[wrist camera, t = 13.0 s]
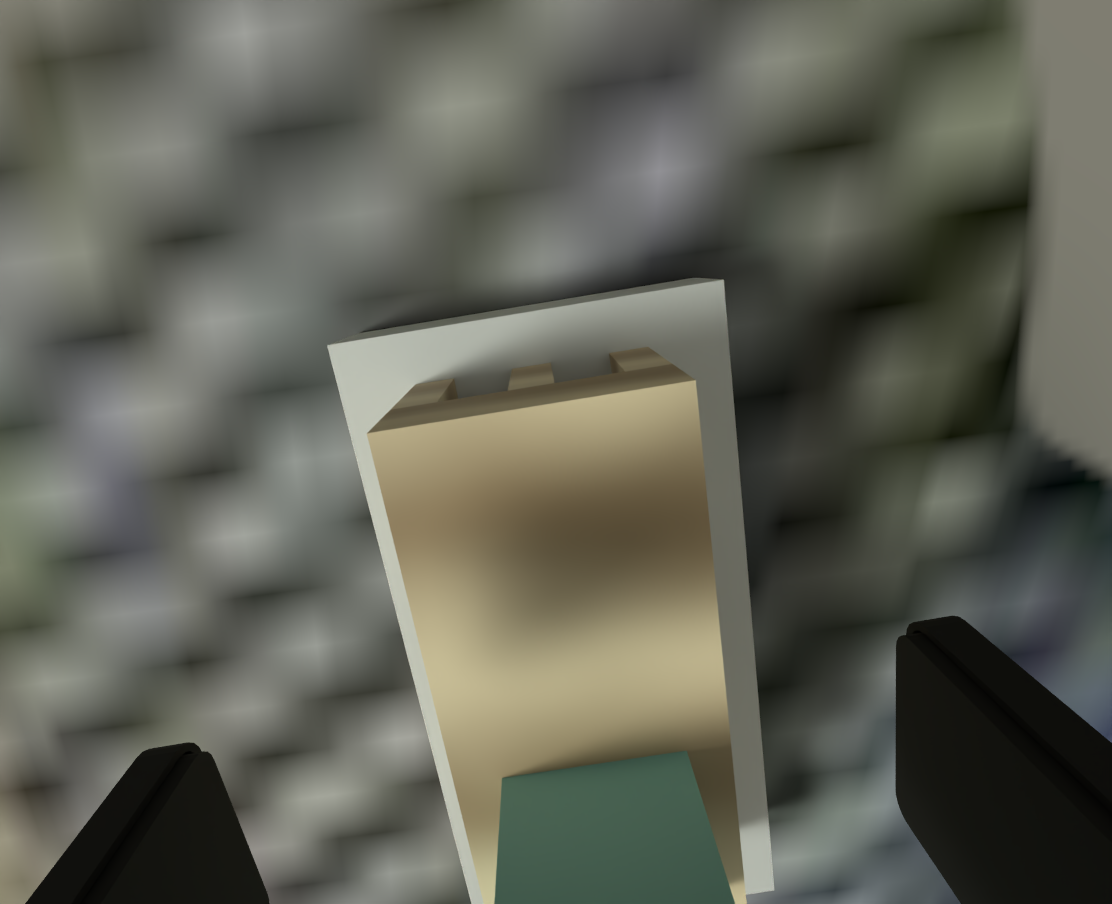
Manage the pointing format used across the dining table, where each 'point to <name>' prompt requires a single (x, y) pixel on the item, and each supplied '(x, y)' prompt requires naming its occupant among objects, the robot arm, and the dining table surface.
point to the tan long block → (562, 581)
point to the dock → (574, 353)
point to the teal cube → (608, 836)
